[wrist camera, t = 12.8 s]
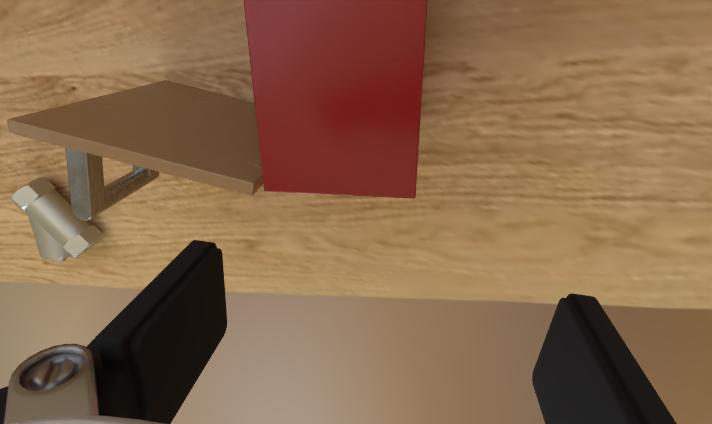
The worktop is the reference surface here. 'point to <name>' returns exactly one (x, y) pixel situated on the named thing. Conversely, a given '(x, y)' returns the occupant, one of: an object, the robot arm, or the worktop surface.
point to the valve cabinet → (338, 94)
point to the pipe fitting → (54, 221)
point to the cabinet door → (150, 141)
